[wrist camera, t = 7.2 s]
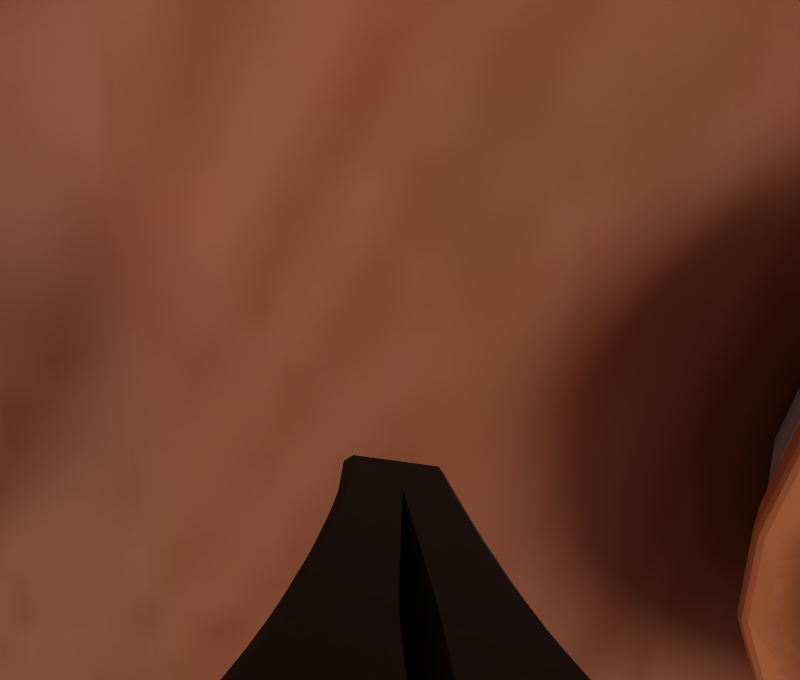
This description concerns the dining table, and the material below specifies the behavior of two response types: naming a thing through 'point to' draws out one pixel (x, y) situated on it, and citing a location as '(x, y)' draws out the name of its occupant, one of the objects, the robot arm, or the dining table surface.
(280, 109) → the dining table surface
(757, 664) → the pie
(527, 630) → the robot arm
